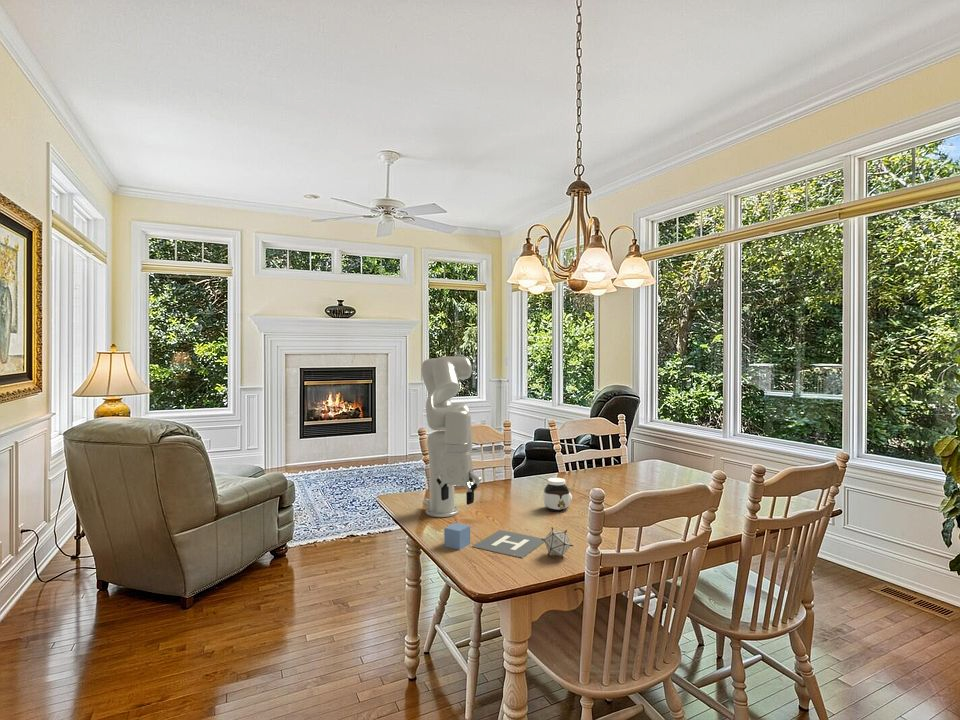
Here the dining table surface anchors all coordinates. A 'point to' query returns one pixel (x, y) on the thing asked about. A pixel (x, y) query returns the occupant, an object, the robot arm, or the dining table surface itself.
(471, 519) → the dining table surface
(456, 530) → the slate cube
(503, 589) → the dining table surface
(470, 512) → the dining table surface
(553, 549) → the game die
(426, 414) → the robot arm
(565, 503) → the spread jar
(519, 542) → the letter mat
